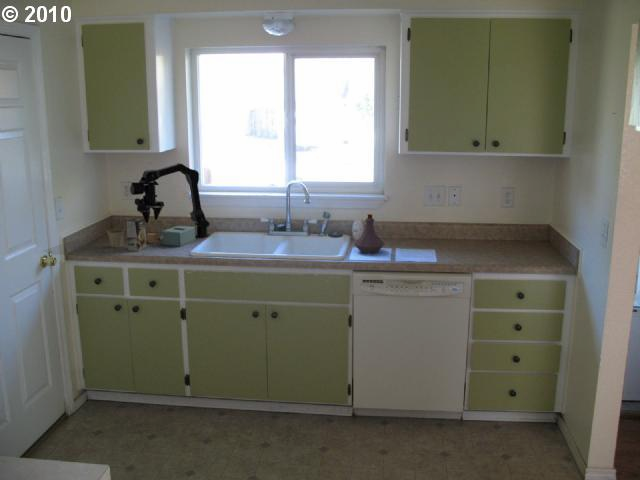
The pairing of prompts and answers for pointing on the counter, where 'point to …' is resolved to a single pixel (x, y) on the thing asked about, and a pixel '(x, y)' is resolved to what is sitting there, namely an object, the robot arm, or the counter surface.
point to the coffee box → (136, 234)
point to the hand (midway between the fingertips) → (151, 221)
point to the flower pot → (116, 237)
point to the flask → (369, 238)
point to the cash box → (178, 236)
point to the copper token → (151, 238)
